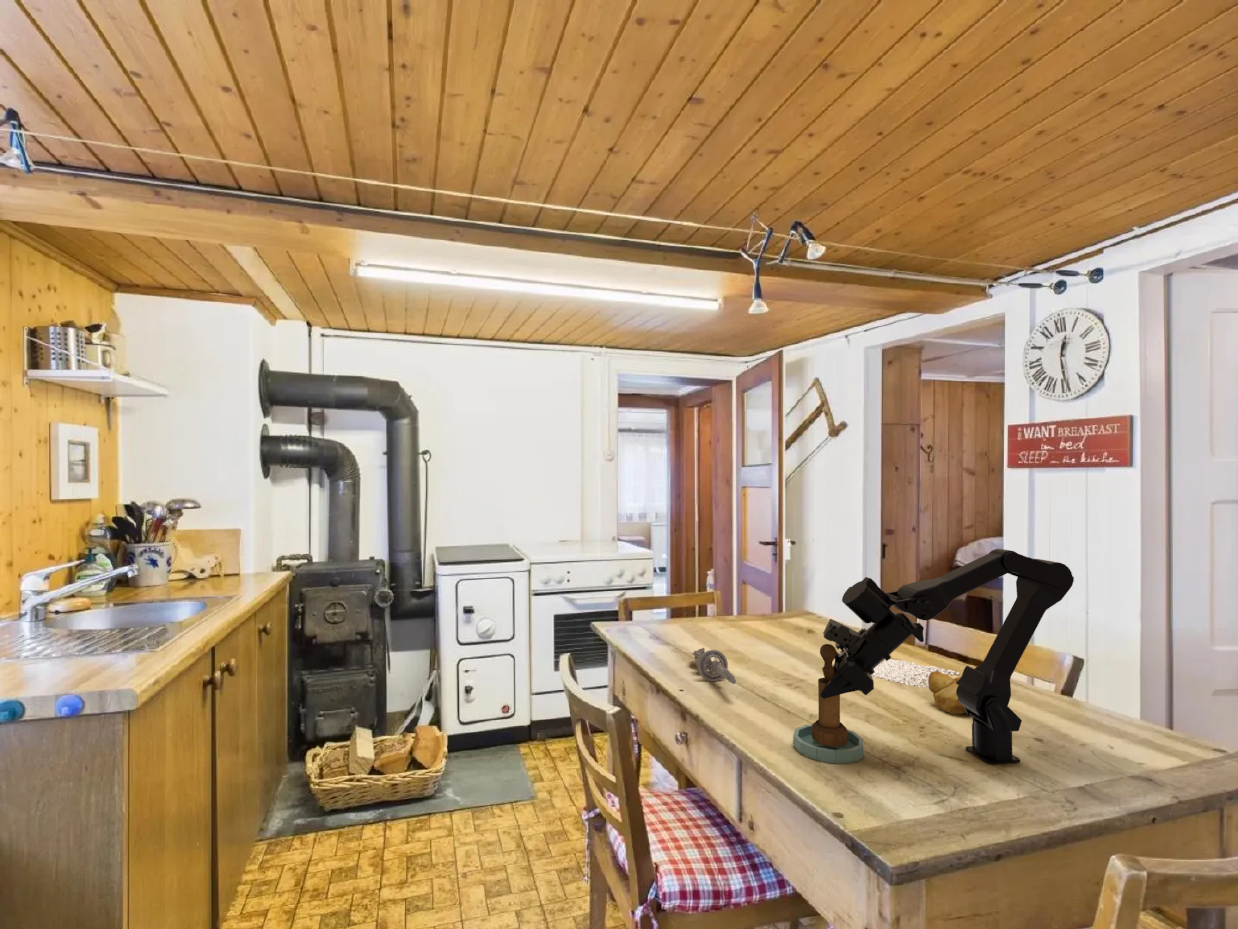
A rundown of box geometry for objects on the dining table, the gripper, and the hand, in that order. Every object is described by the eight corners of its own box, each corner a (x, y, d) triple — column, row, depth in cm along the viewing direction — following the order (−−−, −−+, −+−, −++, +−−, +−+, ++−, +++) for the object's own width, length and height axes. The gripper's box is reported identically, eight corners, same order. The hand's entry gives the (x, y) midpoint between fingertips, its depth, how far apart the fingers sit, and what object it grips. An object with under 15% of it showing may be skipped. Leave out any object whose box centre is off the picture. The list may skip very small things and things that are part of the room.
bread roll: (977, 702, 145) (976, 667, 145) (1005, 718, 135) (1004, 680, 135) (923, 703, 144) (923, 668, 144) (948, 718, 134) (947, 681, 135)
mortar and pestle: (850, 748, 115) (848, 650, 115) (813, 745, 116) (812, 648, 117) (844, 733, 121) (842, 641, 122) (810, 731, 123) (808, 639, 123)
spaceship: (713, 671, 142) (743, 656, 143) (677, 647, 176) (702, 635, 177) (726, 703, 141) (757, 688, 142) (688, 673, 175) (713, 661, 177)
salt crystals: (888, 662, 179) (888, 656, 179) (963, 677, 165) (963, 671, 165) (858, 676, 165) (858, 670, 165) (937, 694, 151) (937, 688, 151)
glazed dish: (877, 761, 113) (876, 749, 113) (811, 765, 111) (811, 753, 112) (842, 734, 126) (842, 723, 126) (783, 737, 124) (783, 726, 124)
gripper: (846, 598, 127) (791, 648, 130) (852, 617, 109) (788, 675, 112) (888, 639, 125) (831, 689, 128) (901, 665, 107) (835, 723, 110)
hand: (821, 692), depth 119 cm, fingers closed on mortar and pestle, 4 cm apart
